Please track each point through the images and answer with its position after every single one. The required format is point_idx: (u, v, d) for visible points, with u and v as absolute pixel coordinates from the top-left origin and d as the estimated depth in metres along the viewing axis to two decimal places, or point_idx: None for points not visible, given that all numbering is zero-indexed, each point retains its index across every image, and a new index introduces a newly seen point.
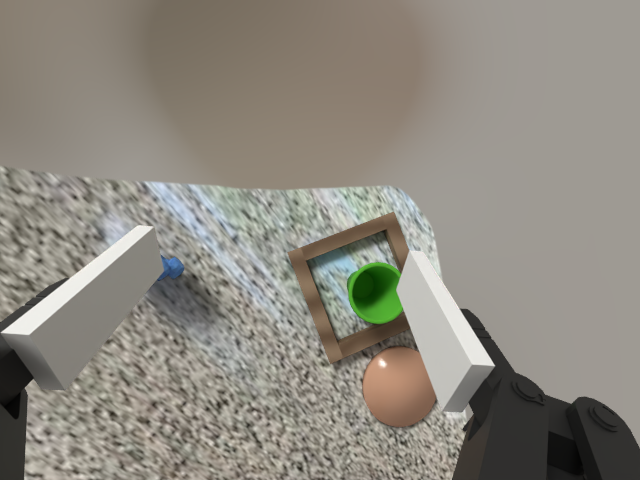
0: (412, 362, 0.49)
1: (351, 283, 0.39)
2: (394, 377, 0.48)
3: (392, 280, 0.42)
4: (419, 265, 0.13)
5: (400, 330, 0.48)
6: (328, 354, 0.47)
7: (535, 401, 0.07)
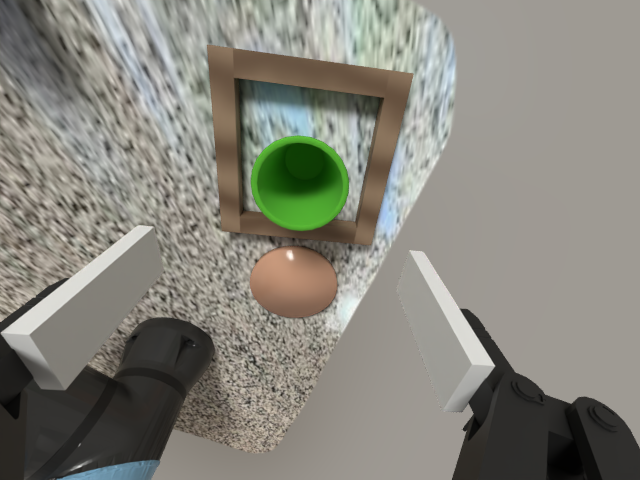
0: (318, 272, 0.41)
1: (264, 152, 0.23)
2: (291, 275, 0.42)
3: (336, 180, 0.27)
4: (419, 265, 0.13)
5: (322, 238, 0.37)
6: (223, 220, 0.36)
7: (535, 401, 0.07)
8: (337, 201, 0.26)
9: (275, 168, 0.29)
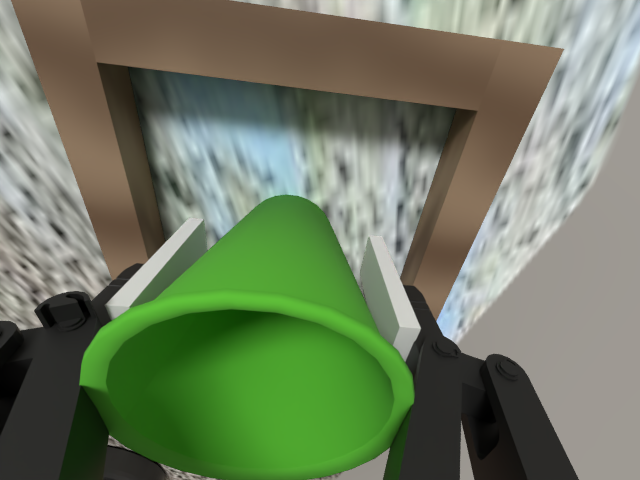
0: None
1: (101, 340, 0.06)
2: None
3: None
4: (375, 247, 0.14)
5: None
6: None
7: (451, 355, 0.09)
8: (368, 418, 0.09)
9: None
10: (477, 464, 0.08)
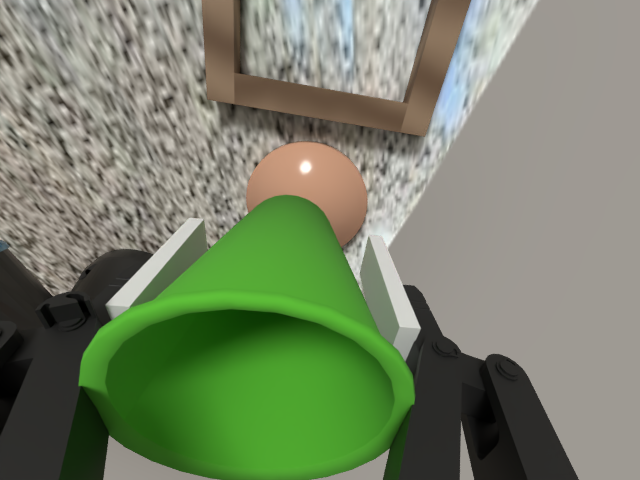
0: (343, 184, 0.29)
1: (100, 341, 0.06)
2: (304, 187, 0.30)
3: None
4: (374, 247, 0.14)
5: (355, 120, 0.25)
6: (209, 79, 0.24)
7: (451, 355, 0.09)
8: (368, 418, 0.09)
9: None
10: (477, 464, 0.08)
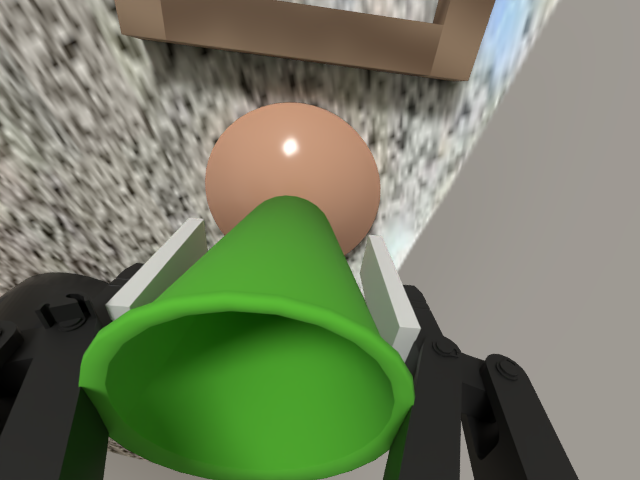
0: (344, 165, 0.20)
1: (100, 342, 0.06)
2: (288, 173, 0.20)
3: None
4: (374, 247, 0.14)
5: (360, 58, 0.16)
6: None
7: (451, 355, 0.09)
8: (368, 420, 0.09)
9: None
10: (477, 464, 0.08)
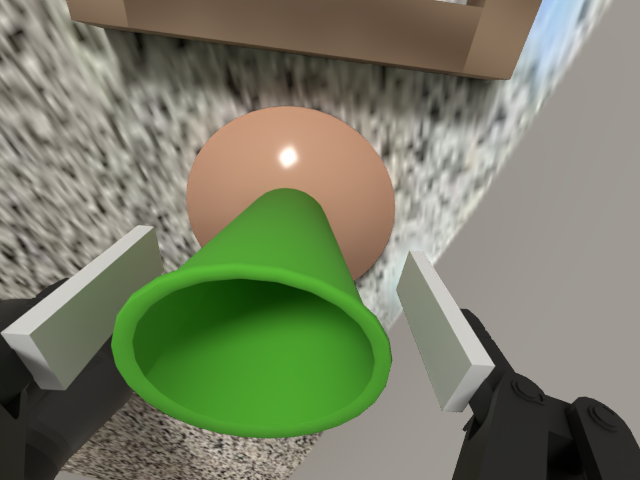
0: (352, 181, 0.17)
1: (133, 303, 0.07)
2: None
3: None
4: (419, 265, 0.13)
5: (374, 51, 0.13)
6: None
7: (535, 401, 0.07)
8: (354, 382, 0.10)
9: None
10: None
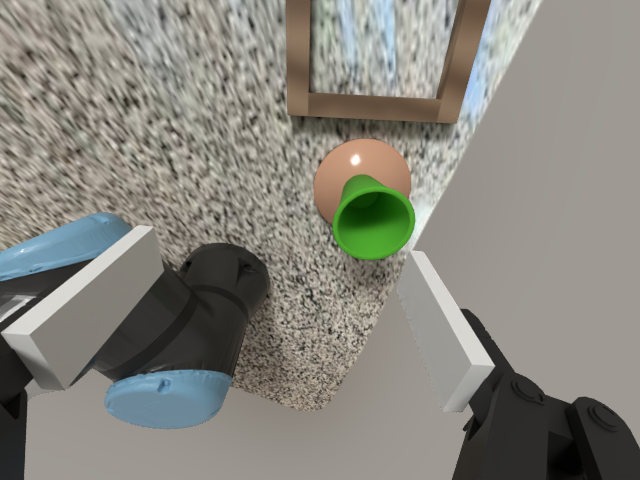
0: (391, 169, 0.37)
1: (346, 200, 0.27)
2: None
3: (399, 215, 0.31)
4: (419, 265, 0.13)
5: (401, 117, 0.33)
6: (289, 100, 0.32)
7: (535, 401, 0.07)
8: (402, 235, 0.30)
9: None
10: None
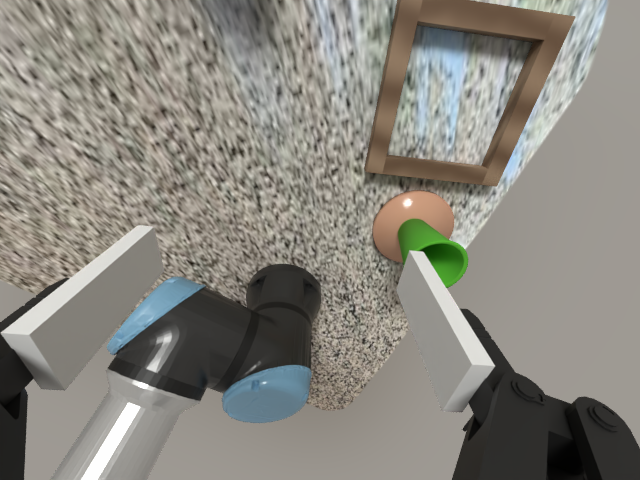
0: (439, 216, 0.45)
1: (419, 248, 0.36)
2: None
3: (451, 257, 0.40)
4: (419, 265, 0.13)
5: (454, 179, 0.41)
6: (370, 161, 0.40)
7: (535, 401, 0.07)
8: (454, 274, 0.39)
9: None
10: None
